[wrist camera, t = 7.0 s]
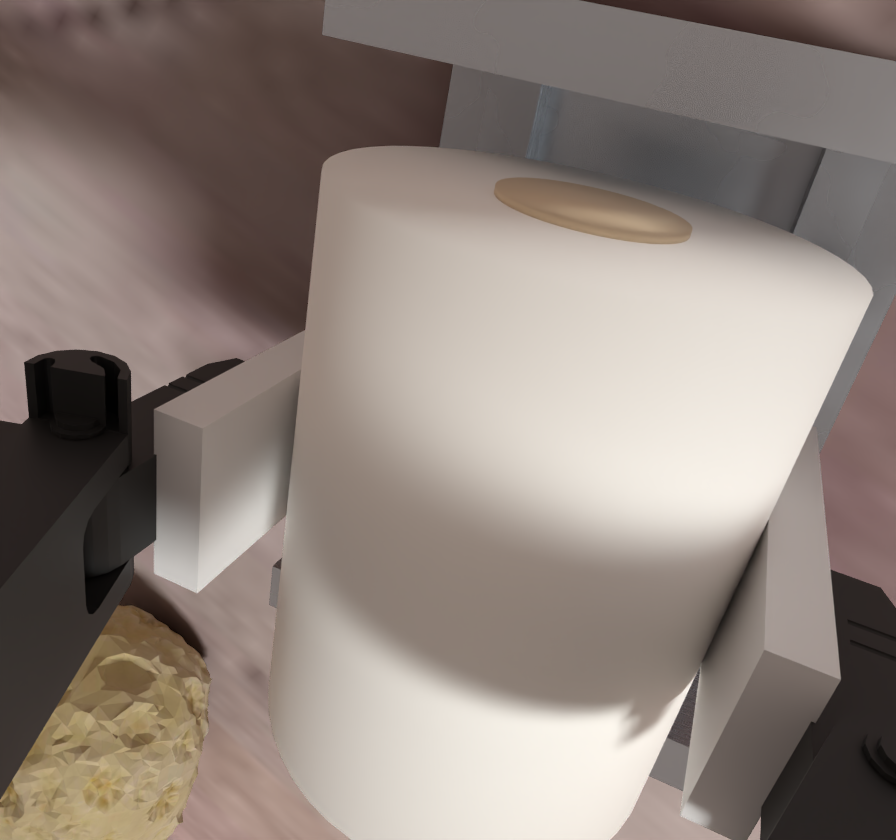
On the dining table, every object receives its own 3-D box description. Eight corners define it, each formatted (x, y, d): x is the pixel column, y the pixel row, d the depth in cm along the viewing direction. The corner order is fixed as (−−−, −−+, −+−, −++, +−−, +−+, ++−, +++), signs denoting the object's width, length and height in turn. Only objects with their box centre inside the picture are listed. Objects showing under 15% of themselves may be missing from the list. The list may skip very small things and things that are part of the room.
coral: (-99, 776, 31) (-188, 749, 23) (116, 601, 37) (107, 529, 28) (59, 954, 30) (26, 993, 22) (254, 746, 36) (286, 715, 27)
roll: (647, 628, 17) (642, 958, 11) (349, 537, 18) (189, 793, 12) (816, 216, 13) (969, 373, 6) (412, 123, 13) (211, 183, 7)
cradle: (736, 612, 22) (720, 811, 16) (392, 480, 25) (269, 608, 19) (984, 87, 15) (1111, 93, 9) (478, -12, 18) (330, -55, 12)
